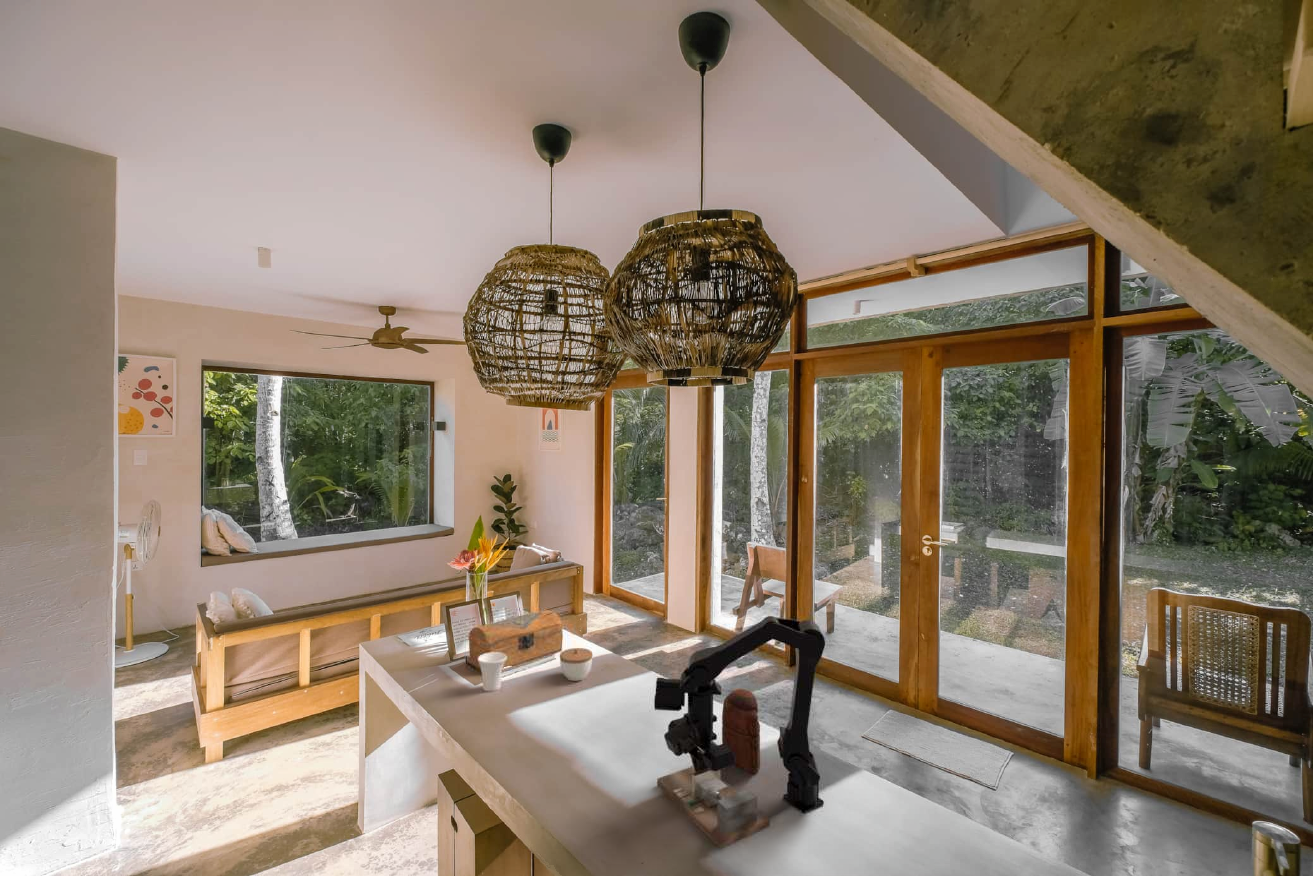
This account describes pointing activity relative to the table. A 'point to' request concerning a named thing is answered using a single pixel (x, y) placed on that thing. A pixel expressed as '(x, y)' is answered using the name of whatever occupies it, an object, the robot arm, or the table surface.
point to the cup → (492, 669)
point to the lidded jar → (576, 663)
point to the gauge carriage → (708, 787)
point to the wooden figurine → (742, 729)
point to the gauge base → (716, 809)
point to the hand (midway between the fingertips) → (700, 779)
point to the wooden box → (518, 638)
